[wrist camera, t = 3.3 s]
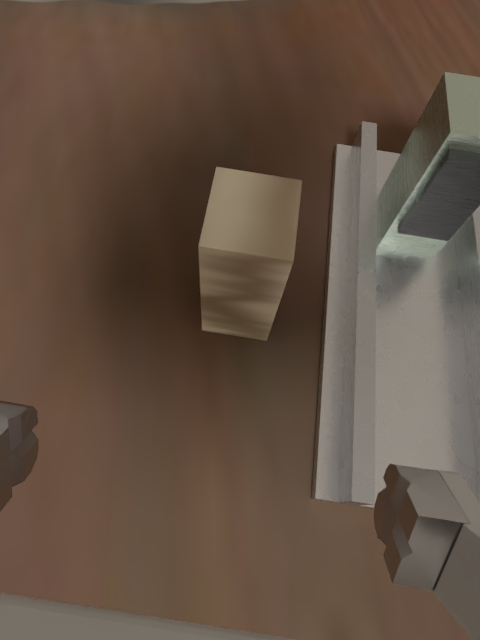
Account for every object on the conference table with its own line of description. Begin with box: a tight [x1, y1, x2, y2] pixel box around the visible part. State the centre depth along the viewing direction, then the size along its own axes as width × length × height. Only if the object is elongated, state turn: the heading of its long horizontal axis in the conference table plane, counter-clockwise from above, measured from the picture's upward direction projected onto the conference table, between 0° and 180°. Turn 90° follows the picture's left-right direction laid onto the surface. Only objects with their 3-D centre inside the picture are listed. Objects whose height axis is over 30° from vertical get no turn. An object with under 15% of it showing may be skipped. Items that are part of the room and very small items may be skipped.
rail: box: [311, 72, 480, 509], centre depth 25 cm, size 12×28×11 cm, turn 172°
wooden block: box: [198, 167, 302, 341], centre depth 25 cm, size 4×6×10 cm
